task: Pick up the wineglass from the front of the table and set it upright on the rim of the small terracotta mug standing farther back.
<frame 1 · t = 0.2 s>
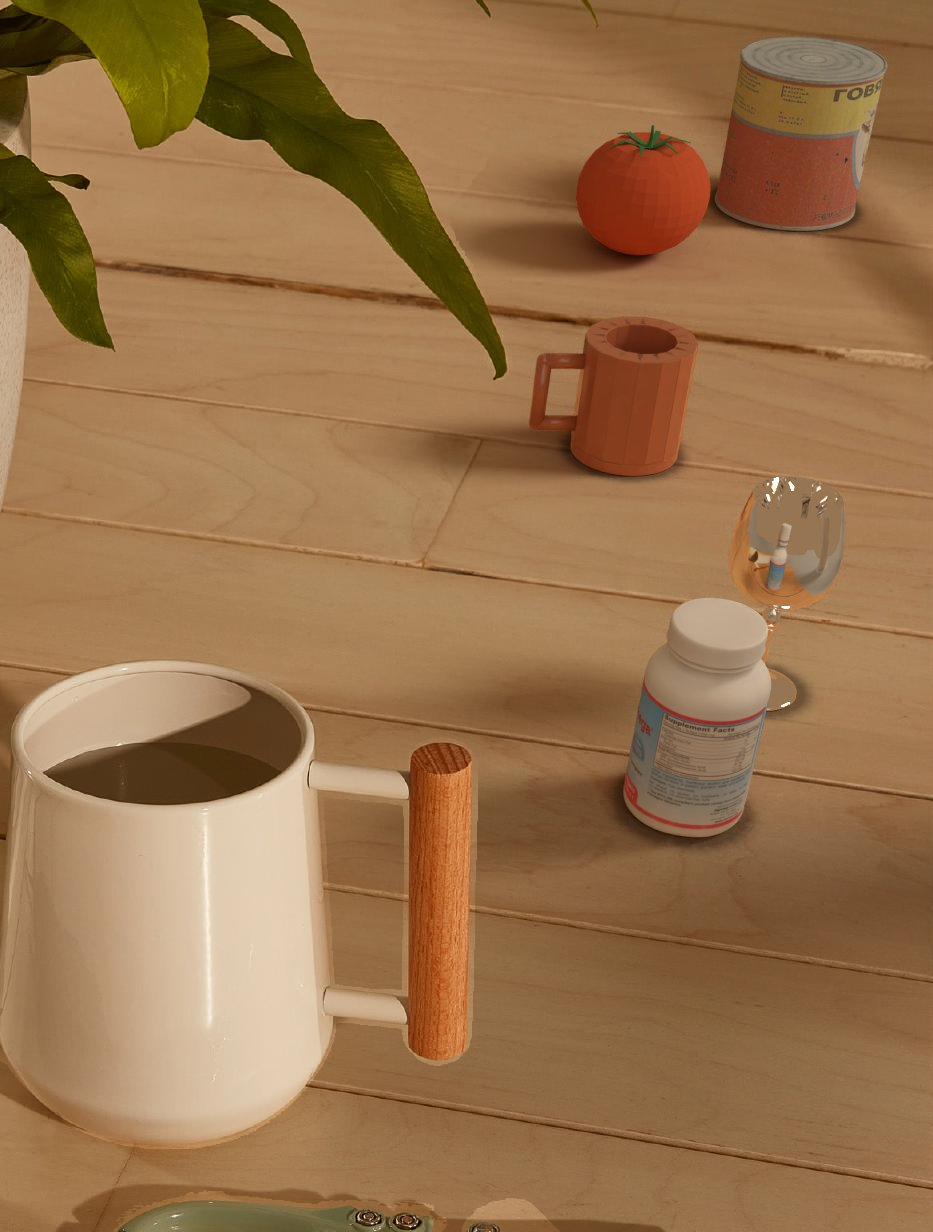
canned food: (783, 207, 170), on the table
pill bottle: (680, 809, 105), on the table
tomato: (633, 253, 163), on the table
mug: (623, 451, 136), on the table
wineglass: (754, 691, 114), on the table
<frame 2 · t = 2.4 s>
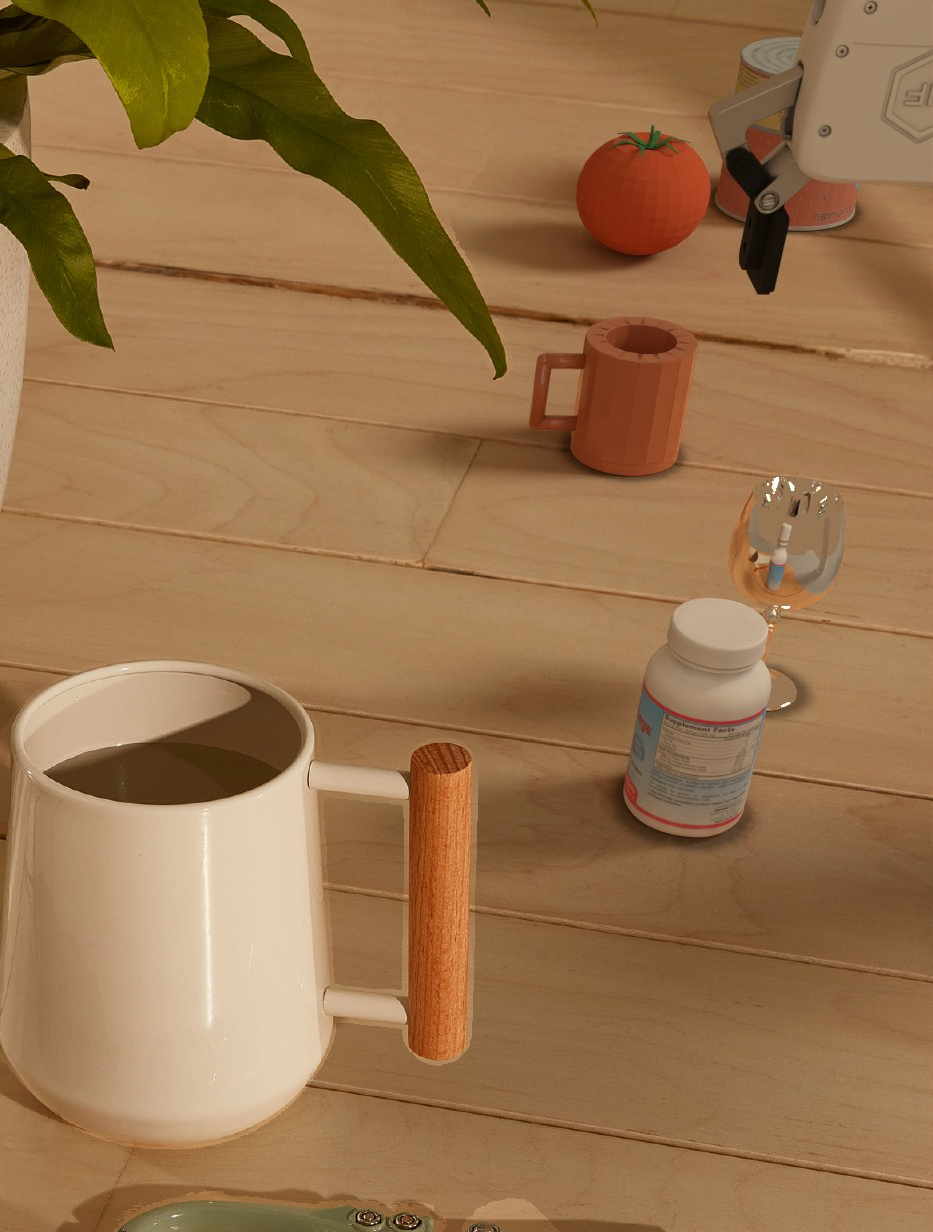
hand: (859, 285, 98), 24 cm above the table, tool pointing down, fingers open, 9 cm apart
nothing on the table moved.
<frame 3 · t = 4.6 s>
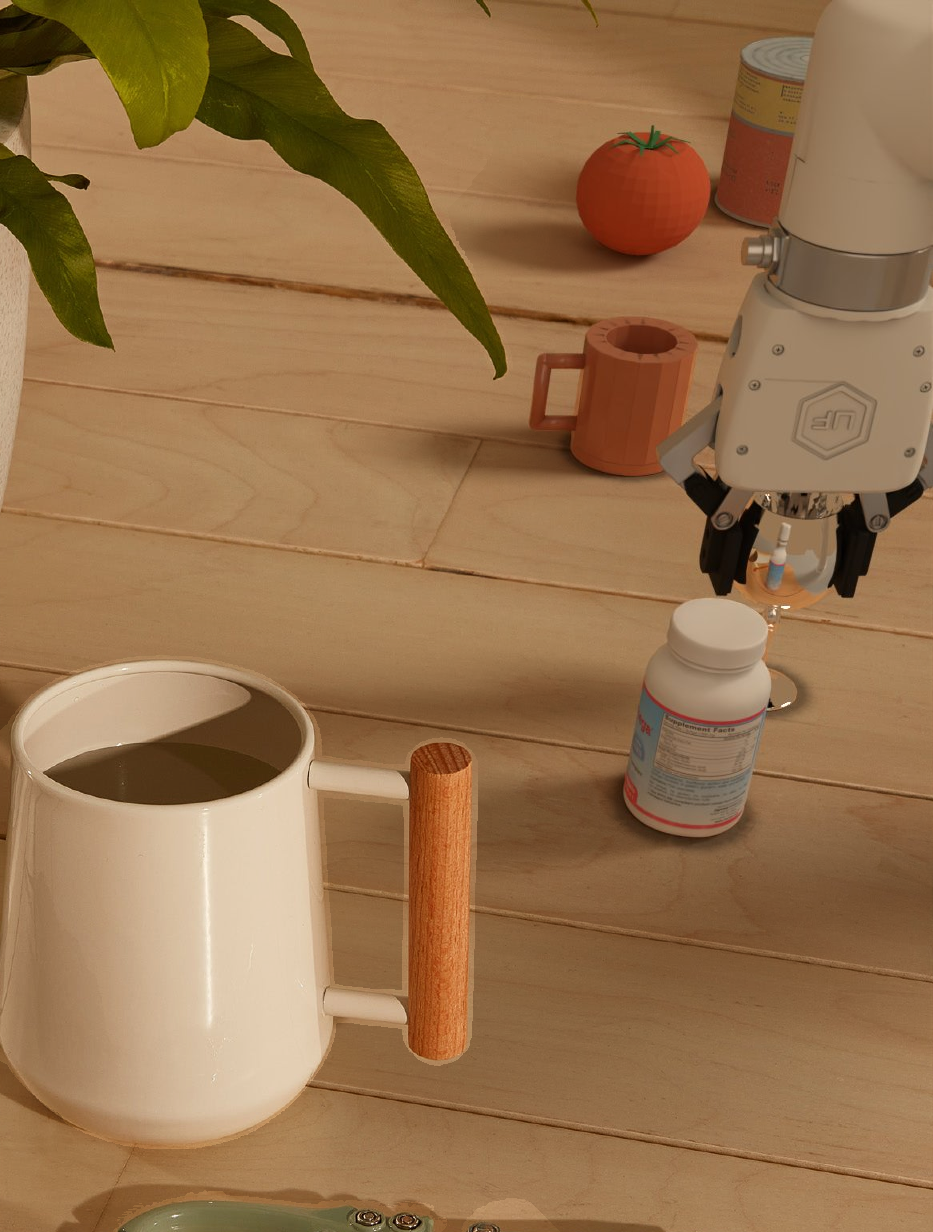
hand: (779, 581, 110), 7 cm above the table, tool pointing down, fingers closed on wineglass, 5 cm apart
wineglass: (754, 691, 114), on the table, touching gripper
everything else where it was.
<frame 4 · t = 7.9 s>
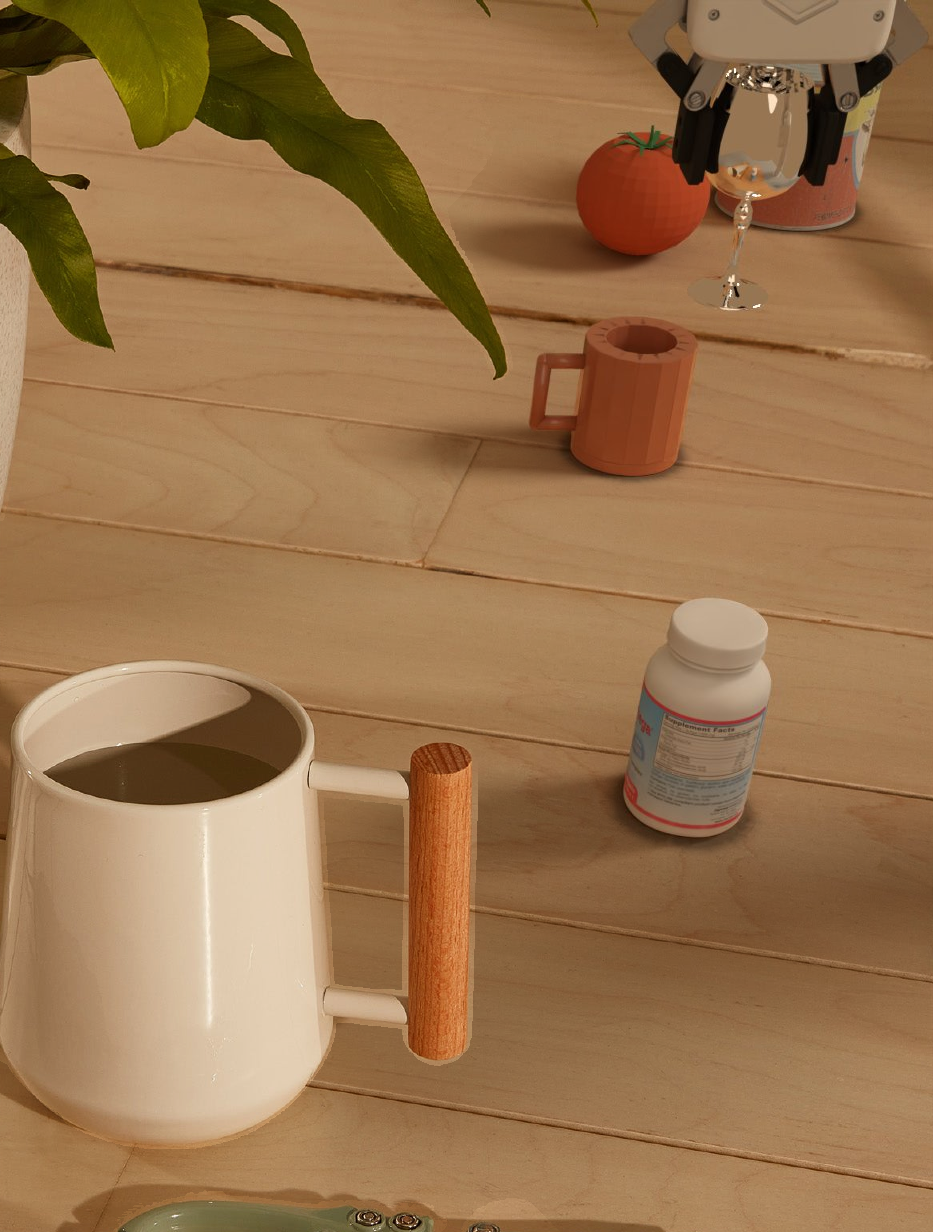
hand: (750, 173, 111), 24 cm above the table, tool pointing down, fingers closed on wineglass, 5 cm apart
wineglass: (727, 297, 115), point 17 cm above the table, touching gripper
everything else where it was.
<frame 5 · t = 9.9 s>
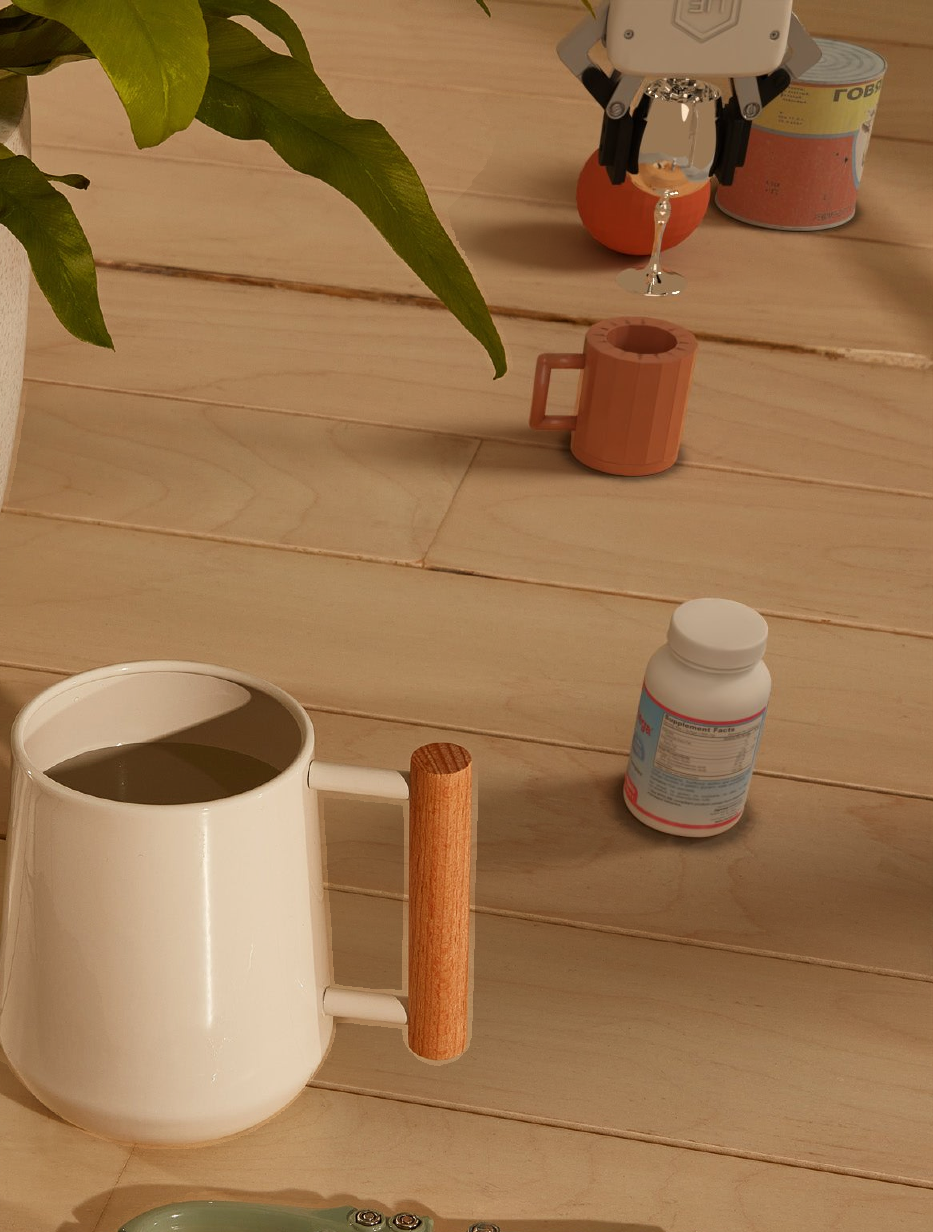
hand: (668, 174, 124), 19 cm above the table, tool pointing down, fingers closed on wineglass, 5 cm apart
wineglass: (650, 285, 129), point 12 cm above the table, touching gripper
everything else where it was.
when the fingers open (15 cm above the table, at t = 11.4 s): wineglass stays where it is, resting on mug.
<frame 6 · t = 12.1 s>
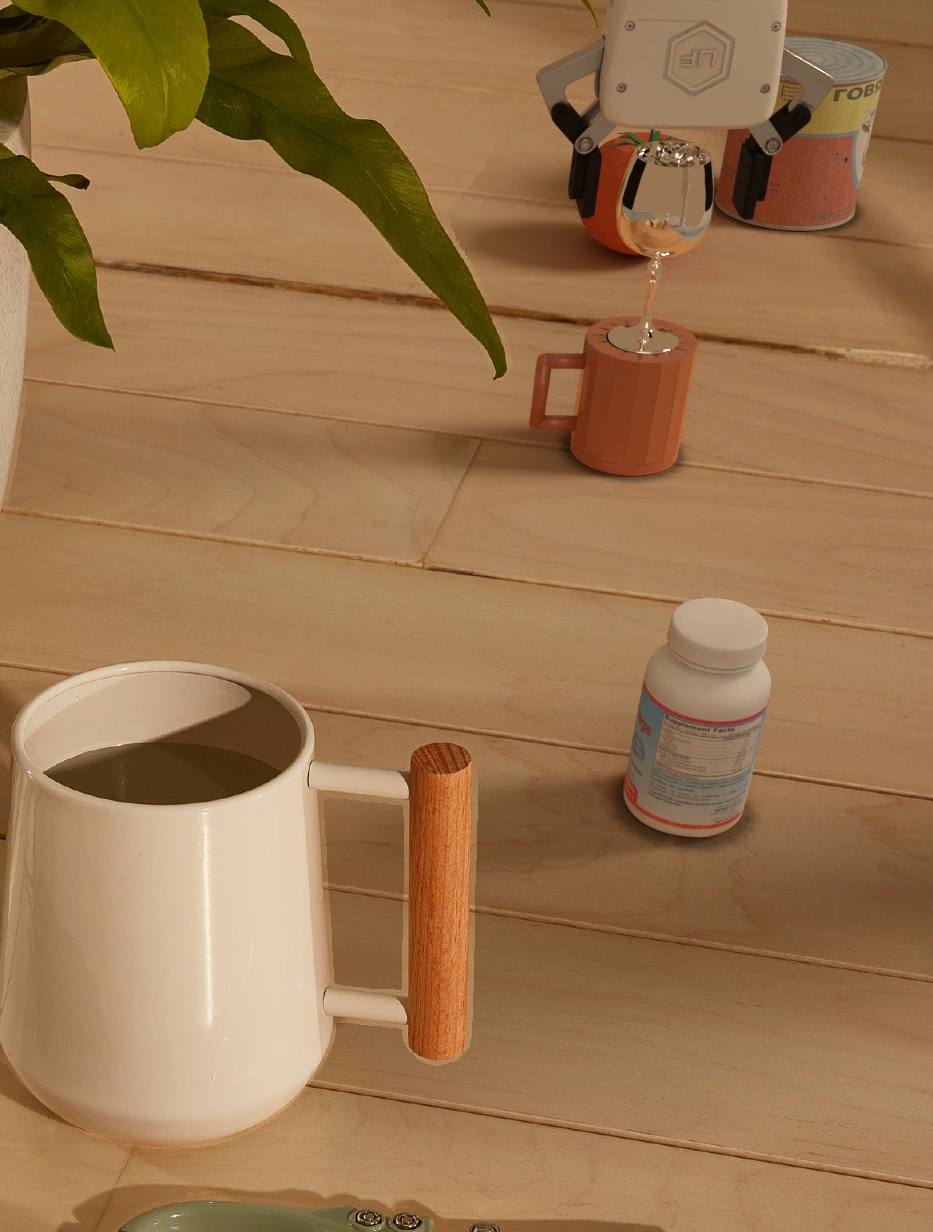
hand: (662, 211, 126), 16 cm above the table, tool pointing down, fingers open, 9 cm apart
wineglass: (642, 342, 131), point 8 cm above the table, touching mug
everything else where it was.
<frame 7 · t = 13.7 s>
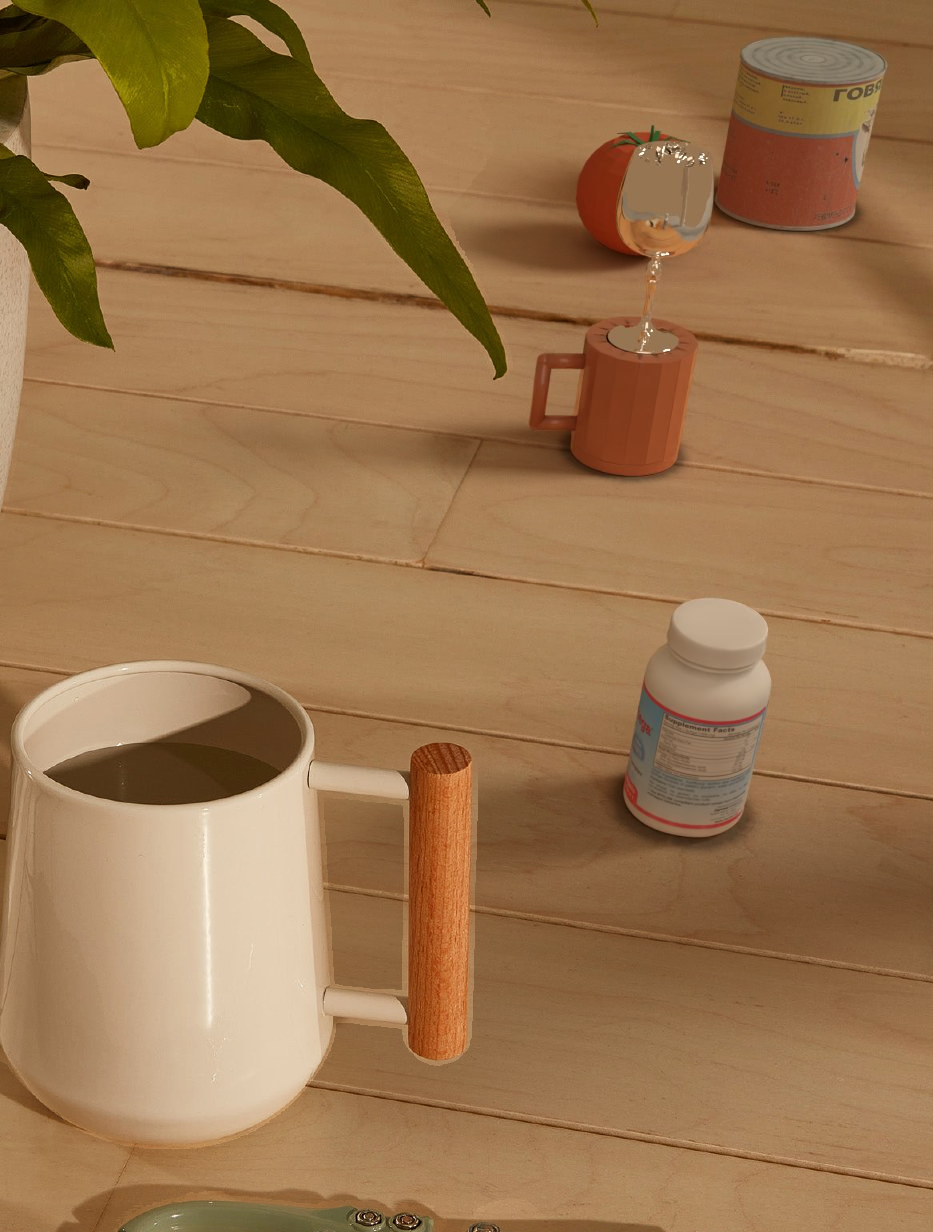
nothing on the table moved.
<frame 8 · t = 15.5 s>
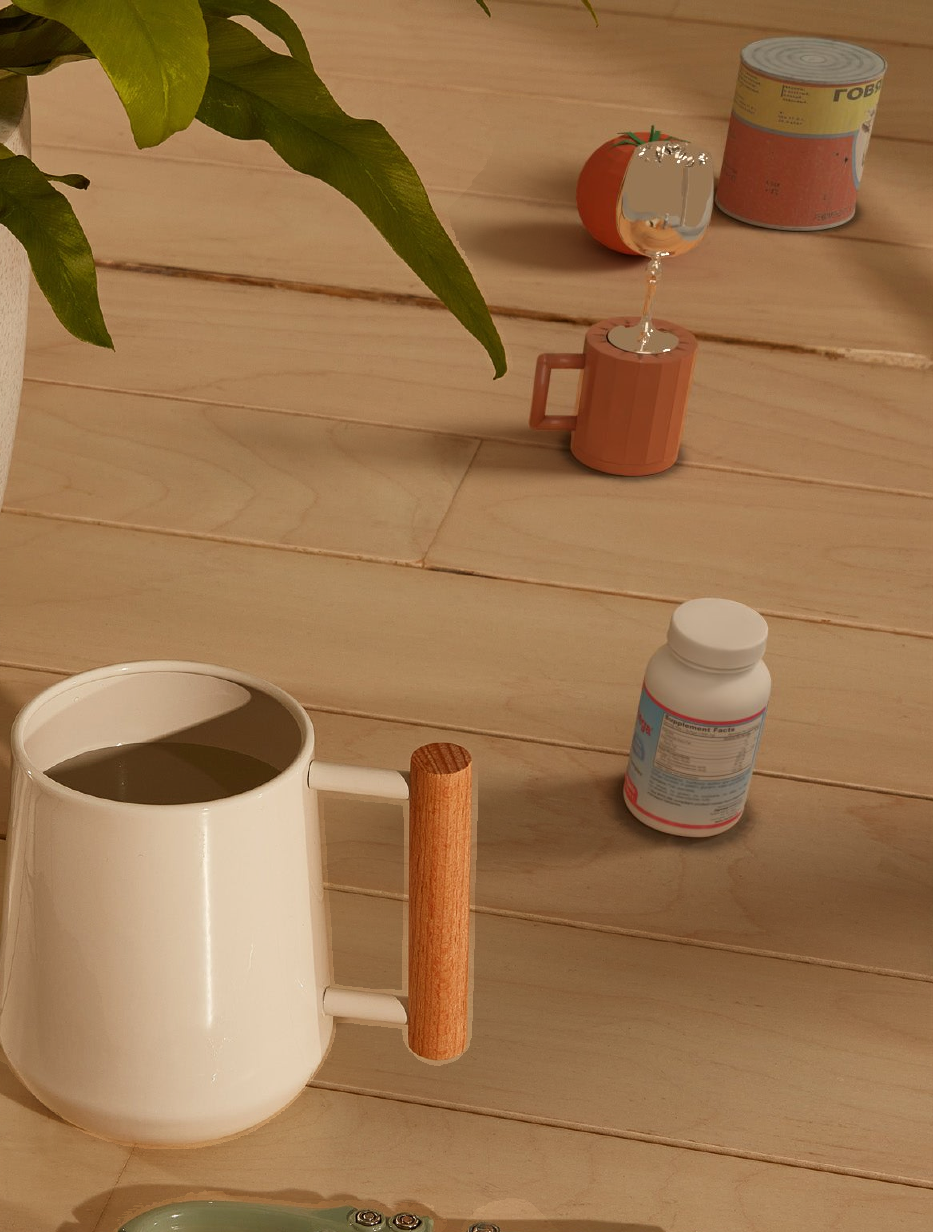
nothing on the table moved.
at the end: wineglass 0.1 cm off-centre on the mug, point 7.8 cm above the mug's base; wineglass tilted 0°; the gripper is holding nothing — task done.
